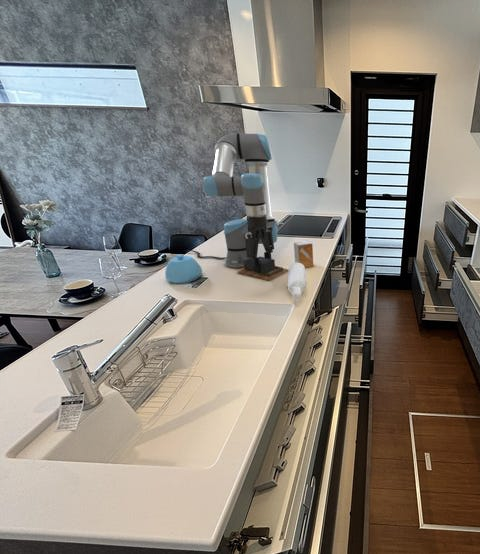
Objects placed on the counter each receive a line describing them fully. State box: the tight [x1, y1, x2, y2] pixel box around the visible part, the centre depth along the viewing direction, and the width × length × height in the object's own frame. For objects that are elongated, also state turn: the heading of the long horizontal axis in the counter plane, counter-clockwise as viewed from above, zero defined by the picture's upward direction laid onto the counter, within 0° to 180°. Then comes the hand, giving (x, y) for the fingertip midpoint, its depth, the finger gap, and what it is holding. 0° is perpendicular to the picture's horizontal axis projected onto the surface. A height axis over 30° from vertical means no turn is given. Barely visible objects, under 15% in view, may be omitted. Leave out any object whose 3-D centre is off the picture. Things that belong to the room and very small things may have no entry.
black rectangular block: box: [250, 256, 276, 274], centre depth 128 cm, size 8×6×5 cm
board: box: [237, 258, 289, 282], centre depth 153 cm, size 20×14×6 cm
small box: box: [293, 240, 314, 269], centre depth 161 cm, size 8×6×13 cm
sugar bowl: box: [164, 253, 203, 284], centre depth 142 cm, size 15×15×12 cm
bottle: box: [287, 262, 307, 303], centre depth 134 cm, size 8×8×30 cm
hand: (263, 269), depth 128 cm, fingers closed on black rectangular block, 6 cm apart
